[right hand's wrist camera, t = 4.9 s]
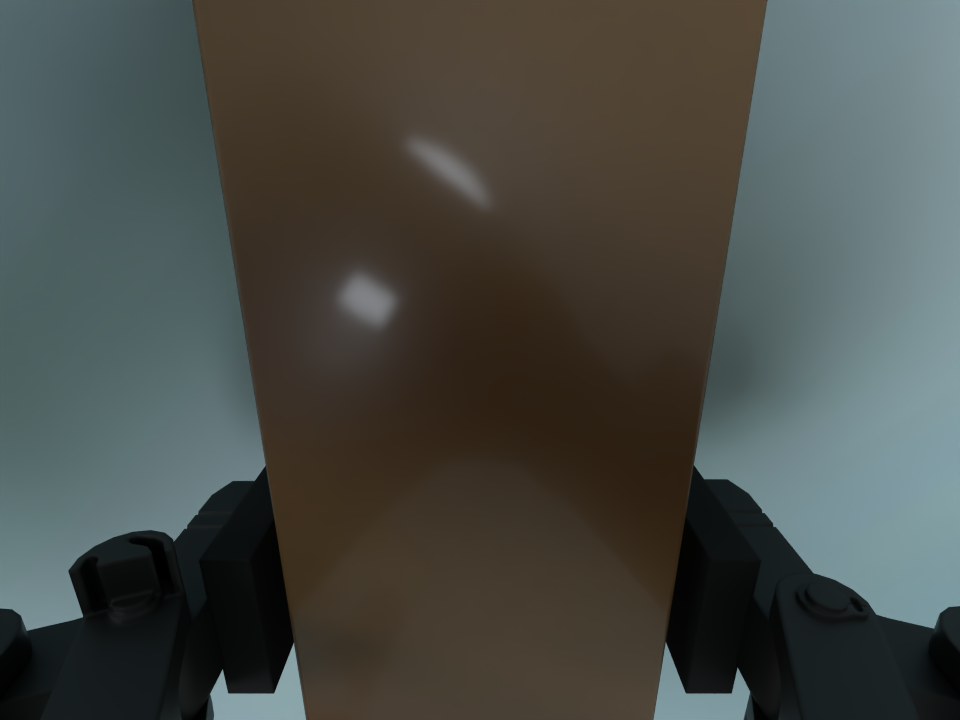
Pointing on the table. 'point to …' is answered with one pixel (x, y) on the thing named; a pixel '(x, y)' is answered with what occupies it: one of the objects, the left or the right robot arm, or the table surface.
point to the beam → (479, 330)
